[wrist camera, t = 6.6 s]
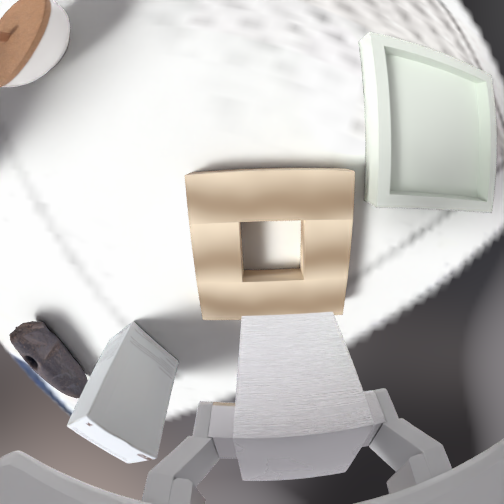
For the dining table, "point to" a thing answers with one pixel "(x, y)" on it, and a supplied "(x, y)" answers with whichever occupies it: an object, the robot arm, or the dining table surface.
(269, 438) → the pin
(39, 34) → the lidded jar
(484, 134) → the tray
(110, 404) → the skincare box
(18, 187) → the dining table surface
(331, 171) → the socket block
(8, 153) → the dining table surface
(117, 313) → the dining table surface
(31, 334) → the perforated stone tool
